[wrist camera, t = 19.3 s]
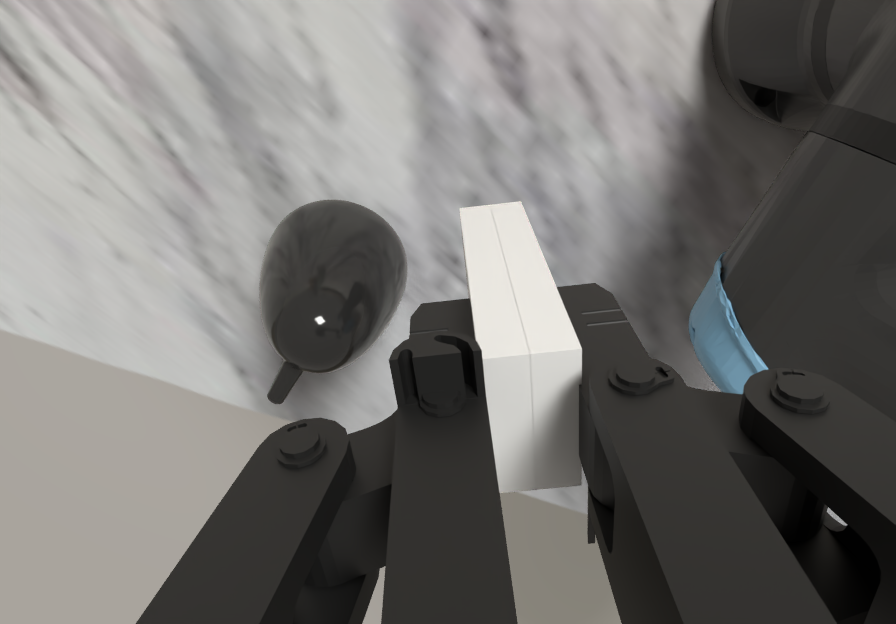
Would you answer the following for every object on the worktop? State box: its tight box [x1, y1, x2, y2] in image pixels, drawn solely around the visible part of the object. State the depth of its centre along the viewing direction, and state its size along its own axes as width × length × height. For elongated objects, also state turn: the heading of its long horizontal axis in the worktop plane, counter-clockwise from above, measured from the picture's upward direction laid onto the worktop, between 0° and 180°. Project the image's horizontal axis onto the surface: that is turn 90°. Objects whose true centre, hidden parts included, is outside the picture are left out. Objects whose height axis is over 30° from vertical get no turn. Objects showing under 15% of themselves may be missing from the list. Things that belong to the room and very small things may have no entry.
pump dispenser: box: [259, 200, 407, 404], centre depth 39 cm, size 10×10×15 cm
